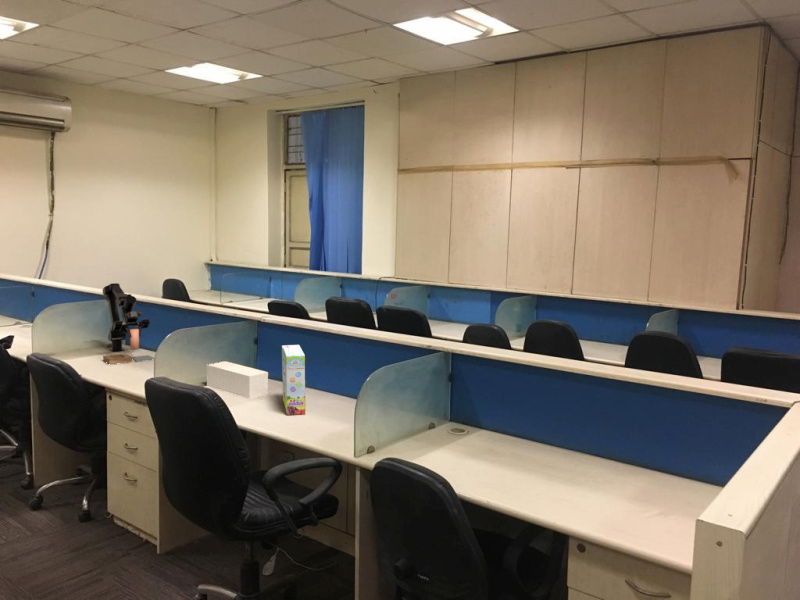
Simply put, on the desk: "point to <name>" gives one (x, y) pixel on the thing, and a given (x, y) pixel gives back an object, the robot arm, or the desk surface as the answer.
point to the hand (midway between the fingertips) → (135, 336)
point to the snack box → (293, 379)
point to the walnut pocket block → (117, 358)
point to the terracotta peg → (134, 339)
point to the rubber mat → (142, 358)
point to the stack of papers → (237, 379)
